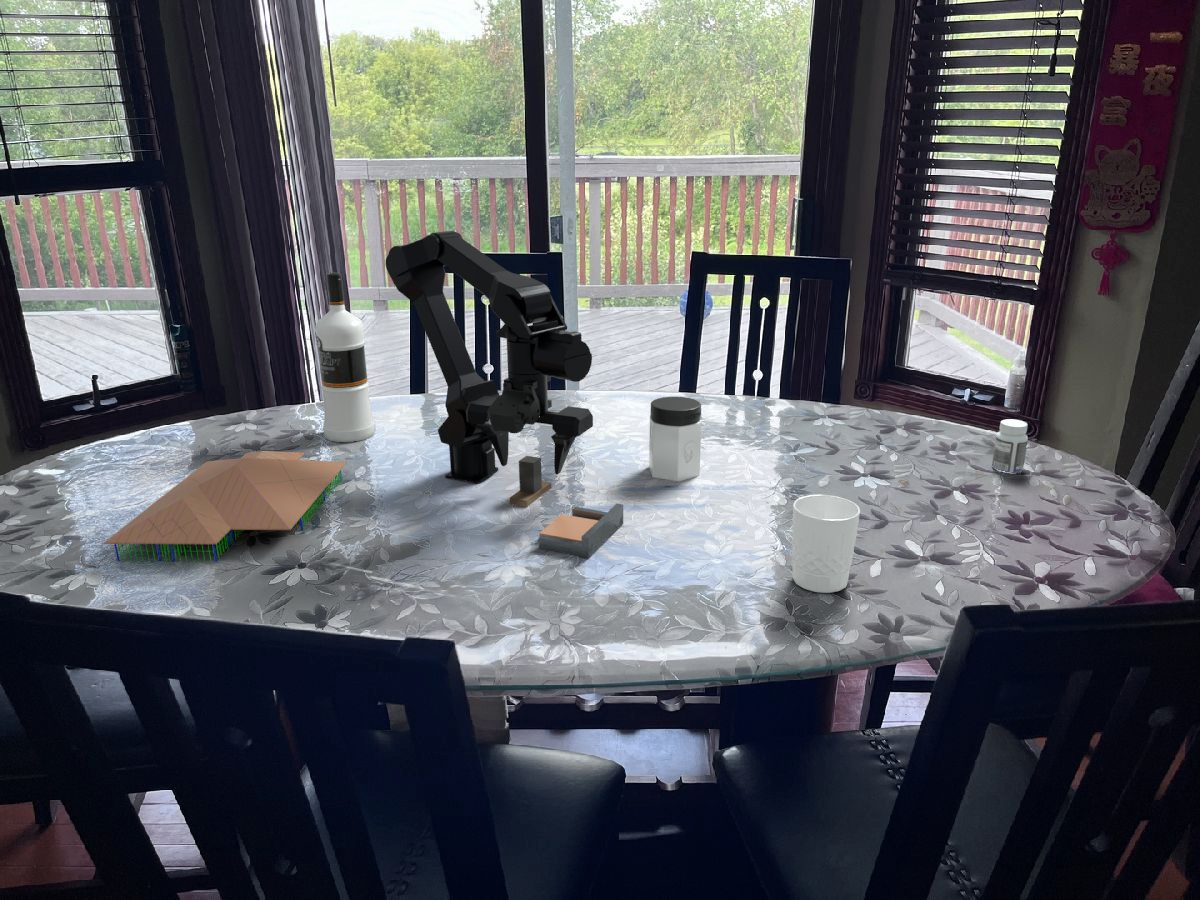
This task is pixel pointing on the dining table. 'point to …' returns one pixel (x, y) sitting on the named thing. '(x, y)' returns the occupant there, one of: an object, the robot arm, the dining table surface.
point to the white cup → (823, 541)
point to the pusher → (530, 482)
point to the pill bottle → (1010, 446)
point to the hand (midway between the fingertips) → (530, 469)
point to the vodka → (343, 370)
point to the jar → (675, 438)
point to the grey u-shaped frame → (592, 537)
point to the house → (231, 502)
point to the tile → (568, 527)
